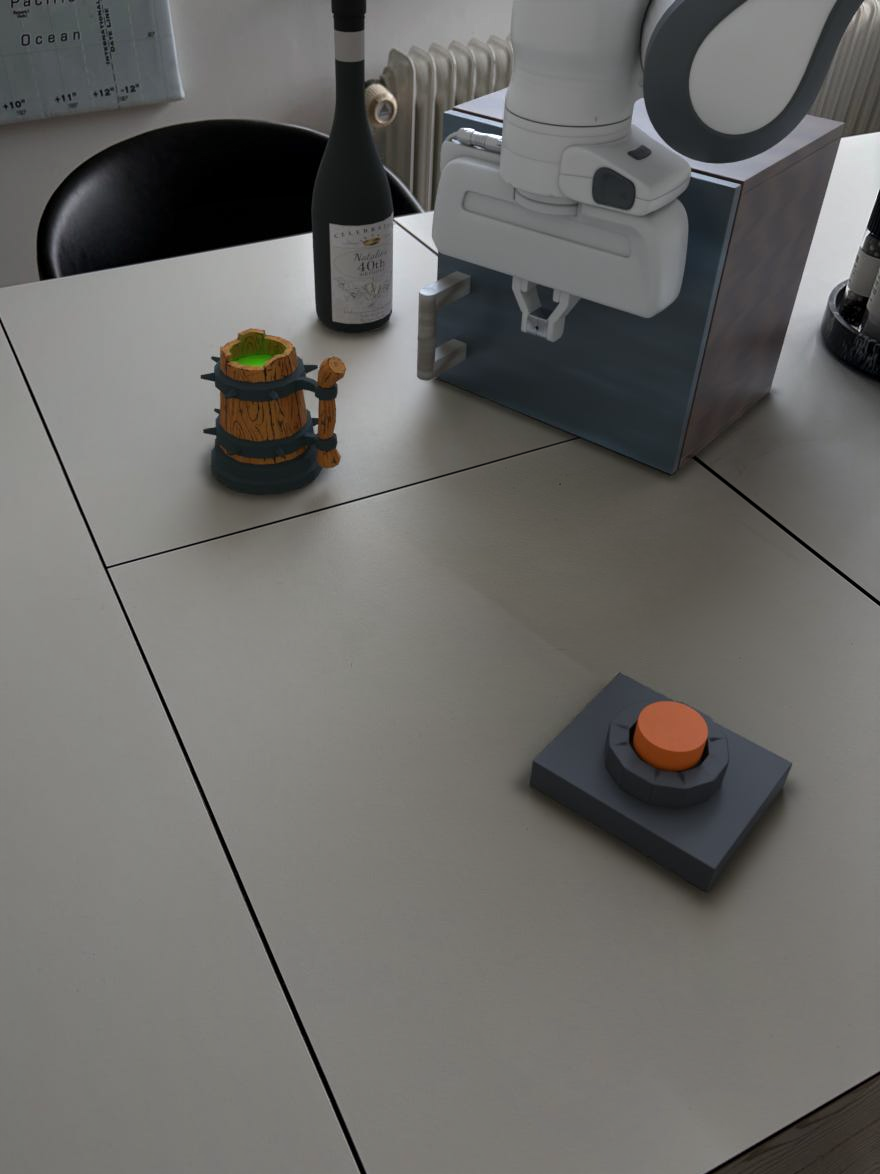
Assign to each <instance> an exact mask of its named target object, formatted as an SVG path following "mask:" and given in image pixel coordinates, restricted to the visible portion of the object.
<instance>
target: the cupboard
mask: <svg viewBox="0 0 880 1174" xmlns="http://www.w3.org/2000/svg"><path fill="white" fill-rule="evenodd" d="M508 87H509V86H507V87H504V88H502V89H499V90H496V91H493V92H490V93H487V94H484V95H482V96H479V97H477V98H474V99H471V100H468V101H466V102H465V101H464V102H463V103H460V104H457V105H455V106H452V109H451V110H453V111H457V112H461V113H465V114H469V115H472V116H476V117H480V118H484V119H488V120H492V121H496V122H500V123H503V117H504V105H505V97H506V93H507V89H508ZM631 123H633V124H634V125H636V126H637V127H638V128H639V129H641V130H642V131H643V132H645V133H646V134H647V135H649V136H650V137H651V138H653V139H654V140H656V141H657V142H659V143H660V144H662V145H663V146H665V147H666V148H668V149H669V150H671V151H672V152H674V153H676V154H677V155H679V156H680V157H682V158H683V159H685V160H686V161H687V162H688V163H689V165H690V167H691V172H694V173H698V174H702V175H706V176H710V177H713V178H717V179H721V180H725V181H729V182H733V183H737V184H741V185H742V186H741V191H740V195H739V199H738V204H737V208H736V213H735V217H734V221H733V226H732V230H731V235H730V239H729V243H728V248H727V252H726V257H725V261H724V265H723V270H722V274H721V278H720V283H719V287H718V292H717V296H716V300H715V305H714V309H713V314H712V318H711V322H710V327H709V331H708V336H707V340H706V344H705V349H704V353H703V358H702V362H701V366H700V371H699V375H698V380H697V384H696V388H695V393H694V397H693V402H692V406H691V410H690V415H689V419H688V424H687V428H686V432H685V437H684V441H683V446H682V450H681V454H680V459H679V463H678V468H677V470H678V471H679V470H681V468H683V467H684V466H685V465H687V464H688V462H690V461H691V460H692V459H693V458H694V457H695V456H697V455H698V454H699V453H700V452H701V451H702V450H703V449H705V448H706V447H707V446H708V445H710V443H712V442H713V441H714V440H715V439H717V437H719V436H720V435H721V434H722V433H723V432H725V431H726V430H727V429H728V428H729V427H731V426H732V425H733V423H735V422H736V421H737V420H738V419H739V418H741V417H742V416H743V415H744V414H745V413H746V412H748V411H749V410H750V409H751V408H752V407H754V406H755V405H756V404H757V403H758V402H759V401H761V400H762V399H763V398H764V397H766V395H768V394H769V393H770V392H771V389H772V386H773V385H772V384H773V381H774V378H775V375H776V371H777V367H778V364H779V360H780V357H781V353H782V349H783V346H784V342H785V339H786V335H787V332H788V328H789V325H790V322H791V318H792V314H793V311H794V308H795V304H796V300H797V297H798V293H799V290H800V286H801V282H802V279H803V276H804V272H805V268H806V264H807V261H808V257H809V254H810V251H811V246H812V243H813V240H814V236H815V232H816V230H817V225H818V222H819V218H820V215H821V211H822V207H823V205H824V201H825V198H826V193H827V190H828V187H829V183H830V179H831V177H832V172H833V169H834V165H835V161H836V158H837V154H838V151H839V148H840V144H841V140H842V136H843V133H844V130H845V126H846V122H844V121H839V120H834V119H830V118H825V117H819V116H816V115H811V114H808V113H807V114H806V115H805V117H804V118H803V120H802V121H801V122H800V123H799V124H798V126H797V127H796V128H795V129H794V130H793V131H792V132H791V133H790V134H789V135H788V136H787V137H785V138H784V139H783V140H782V141H780V142H779V143H778V144H776V145H775V146H773V147H772V148H770V149H768V150H767V151H765V152H763V153H761V154H759V155H757V156H754V157H751V158H749V159H746V160H742V161H738V162H732V163H723V164H714V163H705V162H700V161H696V160H693V159H690V158H688V157H685V156H683V155H681V154H680V153H678V152H676V151H675V150H673V149H672V148H671V147H670V146H668V145H667V144H666V143H665V142H664V141H663V140H662V138H661V137H660V136H659V135H658V133H657V132H656V130H655V129H654V127H653V125H652V123H651V121H650V119H649V116H648V114H647V111H646V107H645V102H644V98H641V99H639V100H637V101H636V102H635V104H634V109H633V115H632V122H631ZM677 470H676V471H677Z"/></svg>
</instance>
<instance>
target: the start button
mask: <svg viewBox="0 0 880 1174" xmlns="http://www.w3.org/2000/svg"><path fill="white" fill-rule="evenodd" d="M677 702H678V701H677ZM677 702H672V701H661V702H655V703H652V704H650V705H648V706H647V707H645V708H644V709H643V710H642V711H641V713H640V715H639V717H638V721H637V725H636V729H635V733H634V737H633V745H634V748H635V750H636V752H637V754H638V755H639V757H640V758H641V759H642V760H643V761H645V762H646V763H647V764H649V765H651V766H653V767H655V768H657V769H660V770H665V771H672V772H679V771H684V770H687V769H690V768H692V767H693V766H695V765H696V764H697V763H698V762H699V760H700V758H701V756H702V753H703V750H704V746H705V743H706V740H707V737H708V727H707V724H706V722H705V720H704V719H703V717H702V716H701V715H700V714H699V713H698V712H696V711H695V710H694V709H695V708H694V709H692V708H690V707H688V706H686V705H684V704H681V703H677Z"/></svg>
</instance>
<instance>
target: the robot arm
mask: <svg viewBox="0 0 880 1174" xmlns="http://www.w3.org/2000/svg"><path fill="white" fill-rule="evenodd" d="M864 2H865V0H512V7H511V18H510V32H509V33H510V41H511V42H510V43H511V48H512V55H513V64H512V65H513V67H512V74H511V78H510V82H509V84H508V86H507V87H508V89H507V93H506V97H505V105H504V117H503V129H502V136H499V135H495V134H485V133H480V132H477V131H476V130H474V129H471V128H460V129H459V130H458V132H454V133H452V134H450V135H449V136H448V137H447V138H446V139H445V141H444V142H443V144H442V143H441V147H440V157H439V158H440V159H439V164H440V165H439V172H440V178H439V181H438V186H437V191H436V197H435V202H434V209H433V215H432V224H431V239H432V242H433V244H434V246H435V248H436V250H437V252H438V251H439V252H440V253H442V254H445V255H448V256H451V257H454V258H457V259H461V260H464V261H467V262H470V263H473V264H476V265H479V266H483V267H486V268H489V269H492V270H495V271H498V272H502V273H505V274H508V275H511V276H513V281H512V290H513V292H514V295H515V297H516V300H517V302H518V305H519V307H520V310H521V312H523V313H522V324H521V331H522V332H524V333H527V334H531V335H534V336H537V337H540V338H542V339H545V340H548V341H551V342H555V341H556V340H558V339H559V338H560V337H561V336H562V334H563V330H564V323H565V316H567V315H568V313H569V312H570V311H571V310H572V308H573V307H574V306H575V305H576V304H577V302H578V301H579V300H580V299H581V298H584V299H587V300H590V301H593V302H596V303H600V304H603V305H606V306H609V307H612V308H615V309H619V310H622V311H625V312H628V313H631V314H634V315H637V316H640V317H644V318H651V317H653V316H655V315H656V314H658V313H659V312H661V311H663V310H664V309H665V308H667V307H668V306H669V305H670V304H671V303H673V302H674V300H675V299H676V298H677V296H678V295H679V292H680V289H681V285H682V280H683V275H684V269H685V262H686V253H687V243H688V218H687V213H686V210H685V208H684V206H683V205H682V203H681V202H680V201H679V200H678V199H677V197H678V196H679V195H681V194H682V193H683V192H684V191H685V190H686V188H687V187H688V185H689V181H690V177H691V167H690V165H689V163H688V162H687V161H686V160H685V159H683V158H682V157H680V156H679V155H677V154H676V153H674V152H672V151H671V150H669V149H668V148H666V147H665V146H663V145H662V144H660V143H659V142H657V141H656V140H654V139H653V138H651V137H650V136H649V135H647V134H646V133H645V132H643V131H642V130H641V129H639V128H638V127H637V126H636V125H634V124H633V123H631V122H632V115H633V109H634V104H635V102H636V101H637V100H639V99H641V98H644V102H645V107H646V111H647V114H648V116H649V119H650V121H651V123H652V125H653V127H654V129H655V130H656V132H657V133H658V135H659V136H660V137H661V138H662V140H663V141H664V142H665V143H666V144H667V145H668V146H670V147H671V148H672V149H673V150H675V151H676V152H678V153H680V154H681V155H683V156H685V157H688V158H690V159H693V160H696V161H700V162H705V163H714V164H723V163H732V162H738V161H742V160H746V159H749V158H751V157H754V156H757V155H759V154H761V153H763V152H765V151H767V150H768V149H770V148H772V147H773V146H775V145H776V144H778V143H779V142H780V141H782V140H783V139H784V138H785V137H787V136H788V135H789V134H790V133H791V132H792V131H793V130H794V129H795V128H796V127H797V126H798V124H799V123H800V122H801V121H802V120H803V118H804V117H805V115H806V114H807V115H808V113H809V112H810V109H811V108H812V107H813V105H814V103H815V101H816V99H817V97H818V96H819V93H820V92H821V89H822V87H823V85H824V82H825V80H826V77H827V75H828V73H829V70H830V67H831V65H832V63H833V60H834V57H835V55H836V53H837V51H838V48H839V45H840V44H841V41H842V39H843V37H844V35H845V32H846V31H847V29H848V28H849V25H850V24H851V22H852V20H853V19H854V17H855V15H856V14H857V12H858V10H859V9H860V7H861V6H862V5H863V3H864ZM454 138H457V140H453V139H454ZM538 284H540V285H543V286H546V287H549V288H552V289H554V293H553V301H554V302H557V303H558V302H559V305H558V306H557V307H556V309H555V310H554V311H552V310H549V309H546V308H543V307H541V303H540V300H539V297H538V293H537V290H536V285H538Z"/></svg>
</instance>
